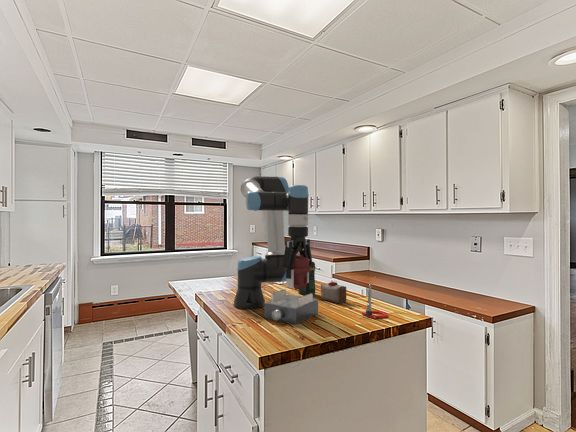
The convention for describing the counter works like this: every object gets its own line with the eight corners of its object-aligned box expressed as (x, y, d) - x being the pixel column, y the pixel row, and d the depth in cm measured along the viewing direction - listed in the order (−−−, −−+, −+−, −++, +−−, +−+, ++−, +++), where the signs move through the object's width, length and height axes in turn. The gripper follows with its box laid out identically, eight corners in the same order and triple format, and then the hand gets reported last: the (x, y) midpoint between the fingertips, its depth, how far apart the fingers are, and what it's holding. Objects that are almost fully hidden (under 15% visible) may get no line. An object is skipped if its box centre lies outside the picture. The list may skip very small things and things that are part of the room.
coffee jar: (317, 294, 182) (317, 261, 182) (306, 296, 177) (306, 262, 177) (307, 291, 189) (307, 259, 190) (296, 293, 185) (296, 260, 185)
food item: (318, 299, 170) (318, 280, 170) (328, 297, 176) (328, 278, 176) (338, 304, 160) (338, 284, 160) (348, 302, 166) (348, 282, 166)
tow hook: (376, 312, 149) (360, 314, 144) (377, 281, 149) (361, 283, 144) (392, 317, 141) (375, 320, 136) (393, 285, 141) (376, 286, 136)
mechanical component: (312, 285, 128) (309, 291, 118) (287, 284, 130) (282, 290, 120) (312, 254, 128) (309, 257, 118) (287, 253, 130) (282, 256, 120)
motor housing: (260, 319, 137) (260, 296, 137) (288, 308, 154) (288, 287, 154) (291, 326, 128) (291, 302, 128) (318, 313, 145) (318, 292, 145)
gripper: (289, 227, 112) (289, 291, 113) (321, 225, 131) (321, 280, 131) (272, 226, 117) (271, 288, 117) (305, 225, 135) (305, 278, 136)
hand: (297, 284), depth 124 cm, fingers closed on mechanical component, 10 cm apart
